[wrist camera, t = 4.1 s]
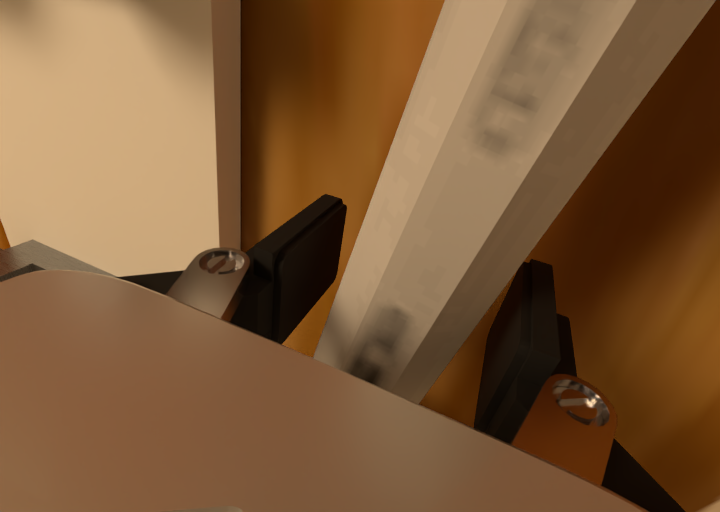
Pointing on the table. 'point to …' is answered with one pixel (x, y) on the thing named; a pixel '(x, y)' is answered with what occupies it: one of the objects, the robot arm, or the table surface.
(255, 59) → the table surface
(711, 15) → the table surface
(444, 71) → the white handheld device
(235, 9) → the stand board
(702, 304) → the table surface
